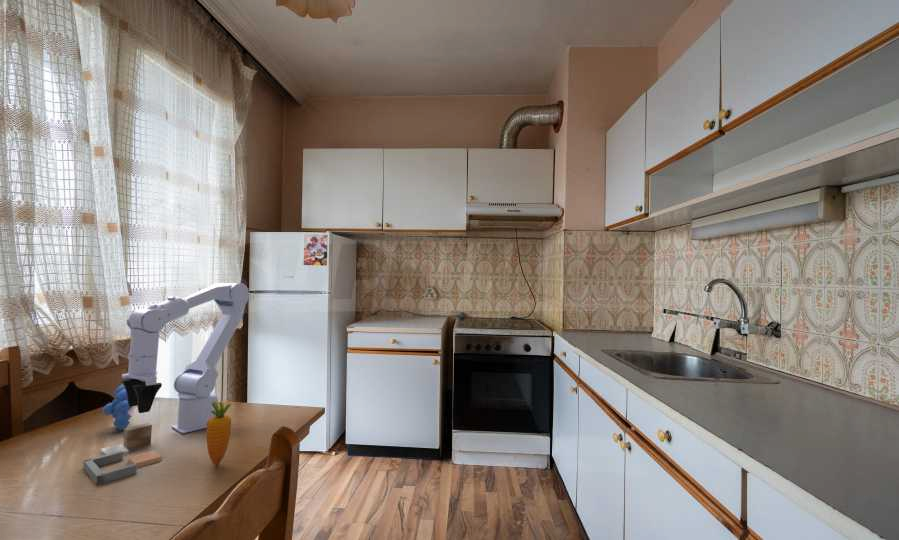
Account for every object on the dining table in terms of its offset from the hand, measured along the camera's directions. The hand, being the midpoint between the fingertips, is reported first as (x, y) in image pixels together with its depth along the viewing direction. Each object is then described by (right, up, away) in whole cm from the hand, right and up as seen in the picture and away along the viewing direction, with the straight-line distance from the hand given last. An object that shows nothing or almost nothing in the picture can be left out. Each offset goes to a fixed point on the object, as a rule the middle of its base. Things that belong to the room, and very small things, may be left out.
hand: (139, 408), depth 99 cm
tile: (+8, -10, -8) cm, 15 cm away
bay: (+4, -9, -13) cm, 16 cm away
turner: (-1, -9, -2) cm, 10 cm away
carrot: (+25, -10, -9) cm, 29 cm away
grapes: (-15, -10, +10) cm, 20 cm away
